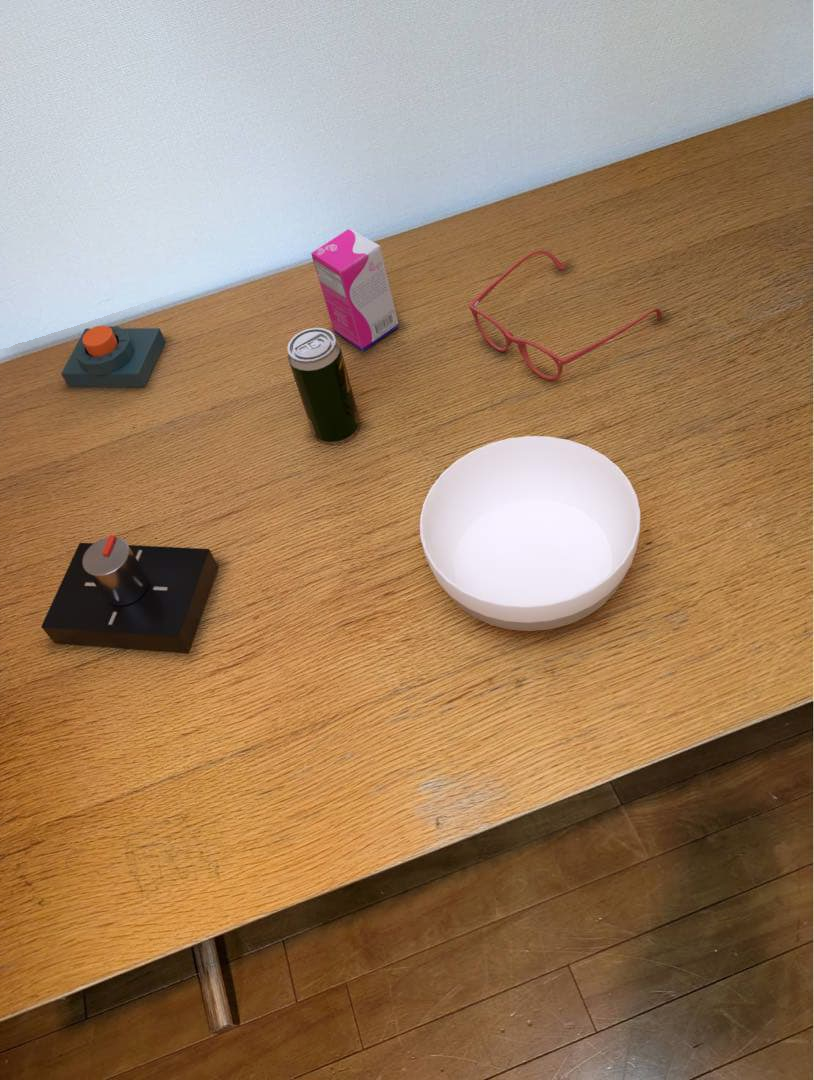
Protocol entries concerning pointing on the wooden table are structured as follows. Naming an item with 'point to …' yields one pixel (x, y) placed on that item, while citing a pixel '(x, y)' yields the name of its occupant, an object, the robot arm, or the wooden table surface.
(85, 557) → the dark cylinder with disc
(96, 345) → the button
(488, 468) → the bowl
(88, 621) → the knob panel
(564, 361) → the red eyeglasses
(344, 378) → the beer can
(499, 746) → the wooden table surface
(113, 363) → the button block
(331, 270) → the supplement box
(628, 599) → the wooden table surface
